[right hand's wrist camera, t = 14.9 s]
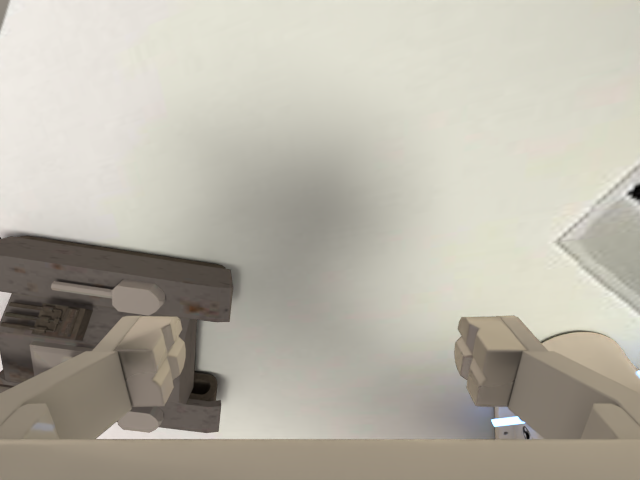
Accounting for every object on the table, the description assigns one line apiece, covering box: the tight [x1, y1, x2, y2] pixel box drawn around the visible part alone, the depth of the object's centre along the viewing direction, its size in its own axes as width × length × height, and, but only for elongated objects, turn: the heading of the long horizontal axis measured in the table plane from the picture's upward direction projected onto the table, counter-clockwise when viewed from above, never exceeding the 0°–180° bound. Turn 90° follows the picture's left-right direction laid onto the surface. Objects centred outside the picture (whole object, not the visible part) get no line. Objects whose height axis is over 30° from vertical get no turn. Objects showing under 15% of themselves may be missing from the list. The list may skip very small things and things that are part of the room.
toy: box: [0, 236, 233, 433], centre depth 37 cm, size 25×20×15 cm
